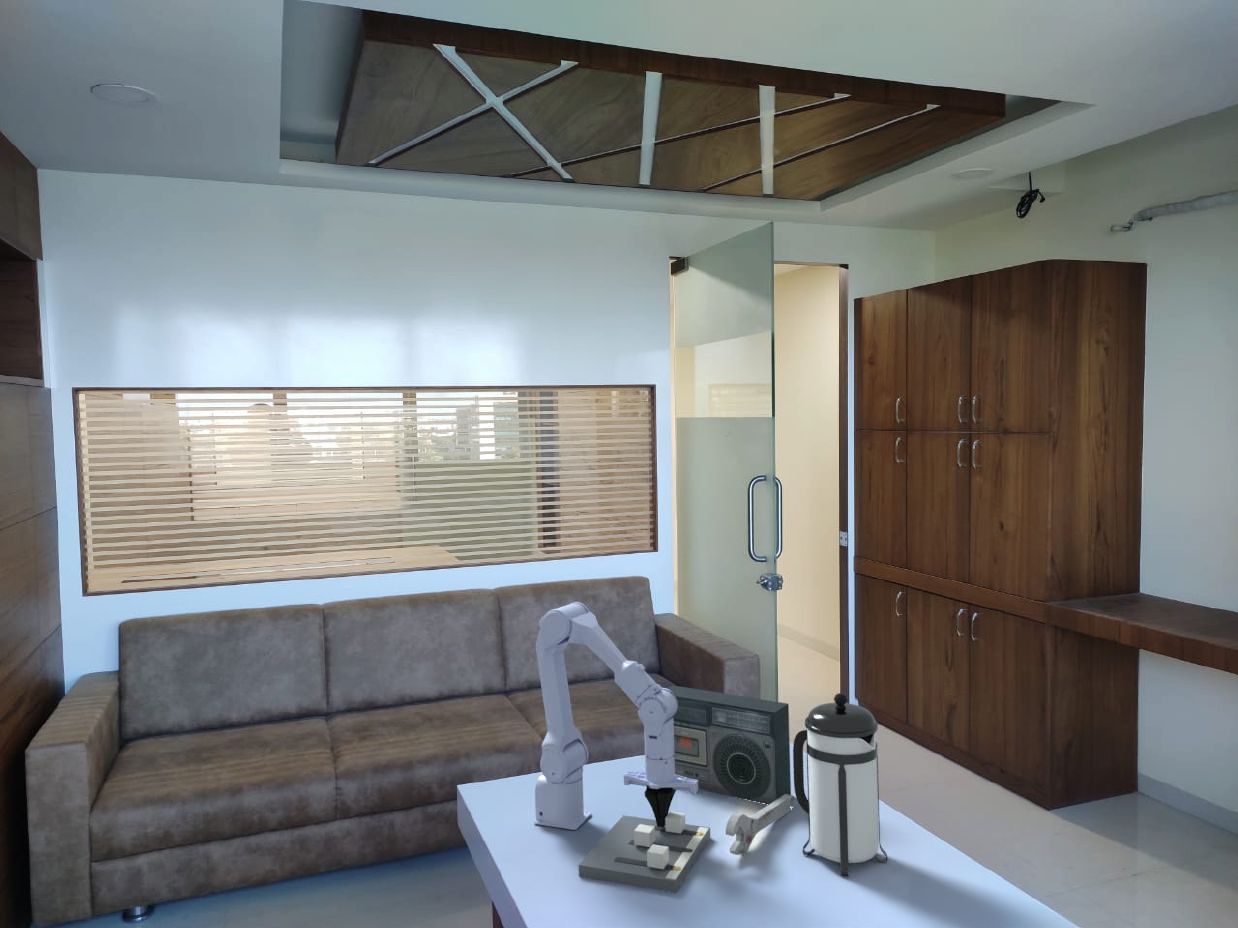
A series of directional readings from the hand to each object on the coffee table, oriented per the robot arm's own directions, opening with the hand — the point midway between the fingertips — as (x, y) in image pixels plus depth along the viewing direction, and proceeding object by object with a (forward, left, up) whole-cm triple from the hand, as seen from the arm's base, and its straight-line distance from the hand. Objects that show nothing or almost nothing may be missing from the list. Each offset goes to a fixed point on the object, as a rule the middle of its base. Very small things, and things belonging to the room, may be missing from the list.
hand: (661, 824), depth 164 cm
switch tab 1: (+4, -14, 0) cm, 15 cm away
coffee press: (+33, +4, -3) cm, 33 cm away
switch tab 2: (+3, 0, 0) cm, 3 cm away
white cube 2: (-1, -7, 0) cm, 7 cm away
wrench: (+18, +9, -3) cm, 20 cm away
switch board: (0, -7, -3) cm, 8 cm away
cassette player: (+5, +28, -3) cm, 29 cm away
